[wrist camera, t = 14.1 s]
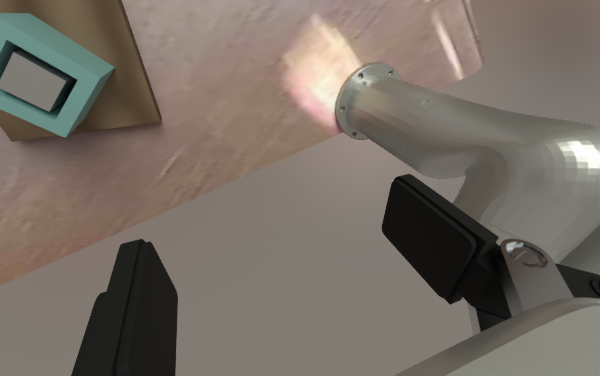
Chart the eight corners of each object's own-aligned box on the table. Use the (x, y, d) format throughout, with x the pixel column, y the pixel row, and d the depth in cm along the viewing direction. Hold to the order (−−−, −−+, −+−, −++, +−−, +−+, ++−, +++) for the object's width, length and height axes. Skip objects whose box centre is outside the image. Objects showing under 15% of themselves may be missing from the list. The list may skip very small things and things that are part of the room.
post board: (119, -7, 26) (97, -14, 20) (161, 117, 33) (155, 140, 27) (-78, -7, 22) (-182, -15, 16) (21, 134, 29) (-24, 167, 23)
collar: (30, 13, 23) (-10, 12, 19) (114, 67, 27) (100, 78, 23) (0, 75, 25) (-44, 89, 20) (84, 118, 29) (65, 137, 24)
